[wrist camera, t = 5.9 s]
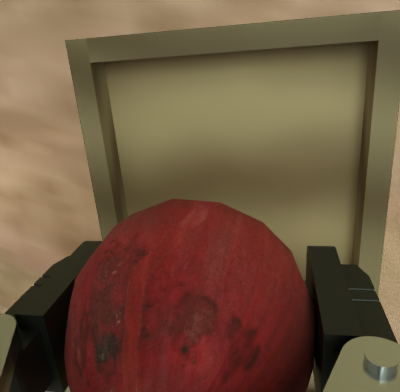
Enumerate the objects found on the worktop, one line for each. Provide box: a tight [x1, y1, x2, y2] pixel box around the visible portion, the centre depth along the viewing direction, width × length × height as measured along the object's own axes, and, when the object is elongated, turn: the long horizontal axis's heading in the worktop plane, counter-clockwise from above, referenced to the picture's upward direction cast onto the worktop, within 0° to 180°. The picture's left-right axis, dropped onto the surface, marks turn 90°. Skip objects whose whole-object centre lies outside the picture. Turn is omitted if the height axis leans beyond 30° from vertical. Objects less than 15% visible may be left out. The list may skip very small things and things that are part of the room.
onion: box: [64, 198, 315, 392], centre depth 9 cm, size 6×6×8 cm
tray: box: [65, 10, 400, 296], centre depth 20 cm, size 14×14×5 cm
